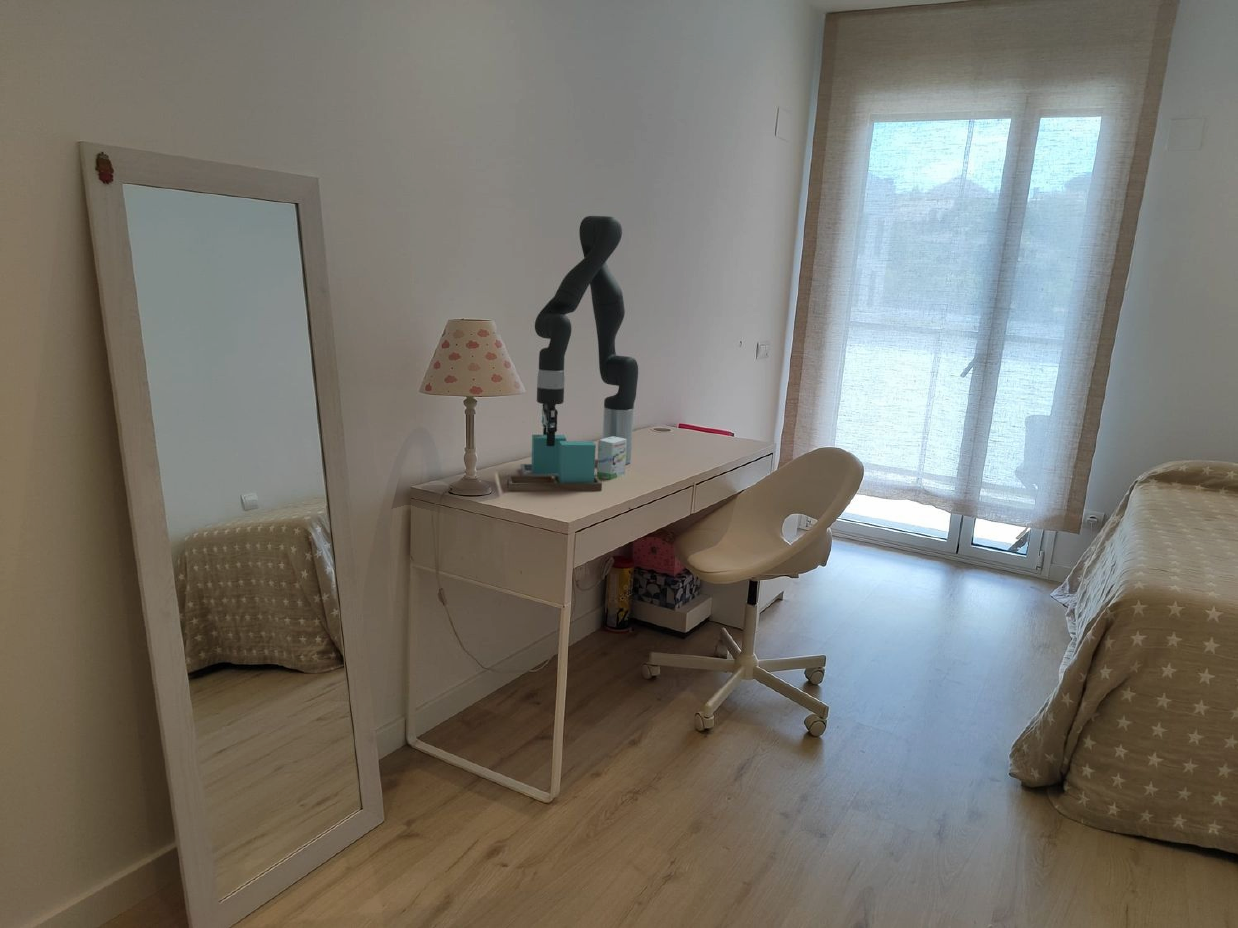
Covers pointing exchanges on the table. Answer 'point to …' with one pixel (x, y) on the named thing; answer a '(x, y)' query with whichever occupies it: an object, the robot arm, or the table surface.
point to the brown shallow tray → (549, 484)
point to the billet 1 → (545, 455)
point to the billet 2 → (576, 462)
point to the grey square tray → (528, 467)
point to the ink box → (611, 457)
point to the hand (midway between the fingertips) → (548, 443)
